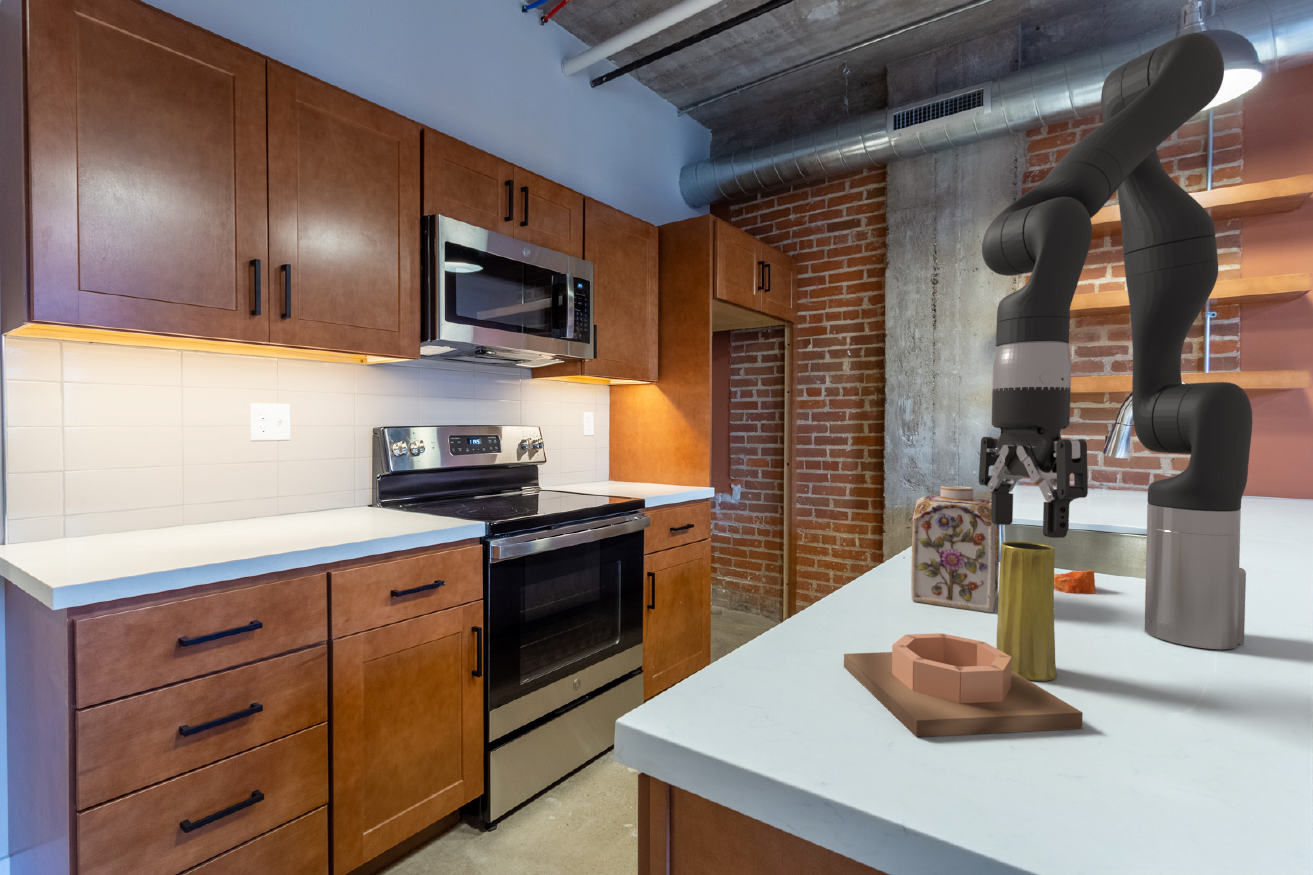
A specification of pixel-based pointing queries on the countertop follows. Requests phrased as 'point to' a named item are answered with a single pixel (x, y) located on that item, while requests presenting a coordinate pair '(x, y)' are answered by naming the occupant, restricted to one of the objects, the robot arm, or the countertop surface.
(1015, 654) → the vase
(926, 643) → the holder ring
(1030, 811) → the countertop surface
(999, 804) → the countertop surface
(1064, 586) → the rock
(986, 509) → the decorative jar
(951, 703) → the board
